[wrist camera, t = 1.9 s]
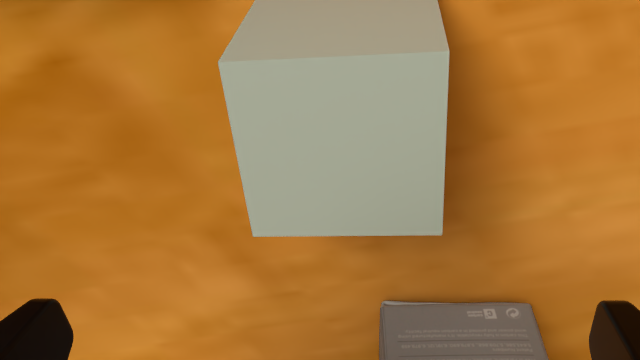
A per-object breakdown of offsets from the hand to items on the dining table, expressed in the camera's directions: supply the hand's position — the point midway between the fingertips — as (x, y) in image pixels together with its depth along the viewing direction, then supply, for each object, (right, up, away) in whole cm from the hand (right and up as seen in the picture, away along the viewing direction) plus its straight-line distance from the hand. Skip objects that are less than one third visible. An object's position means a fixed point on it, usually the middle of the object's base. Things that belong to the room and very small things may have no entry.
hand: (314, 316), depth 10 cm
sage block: (+1, +6, +9) cm, 11 cm away
